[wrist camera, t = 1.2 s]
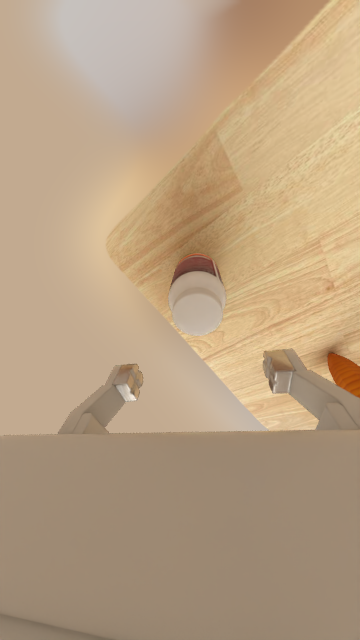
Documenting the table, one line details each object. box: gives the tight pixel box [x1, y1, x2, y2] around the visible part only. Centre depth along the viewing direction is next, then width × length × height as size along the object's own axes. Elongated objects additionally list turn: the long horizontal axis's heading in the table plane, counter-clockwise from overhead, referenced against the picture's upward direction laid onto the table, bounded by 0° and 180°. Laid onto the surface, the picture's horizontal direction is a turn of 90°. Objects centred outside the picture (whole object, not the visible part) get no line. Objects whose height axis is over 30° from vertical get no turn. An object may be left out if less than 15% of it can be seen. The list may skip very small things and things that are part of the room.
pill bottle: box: [168, 253, 226, 336], centre depth 20 cm, size 6×6×11 cm
